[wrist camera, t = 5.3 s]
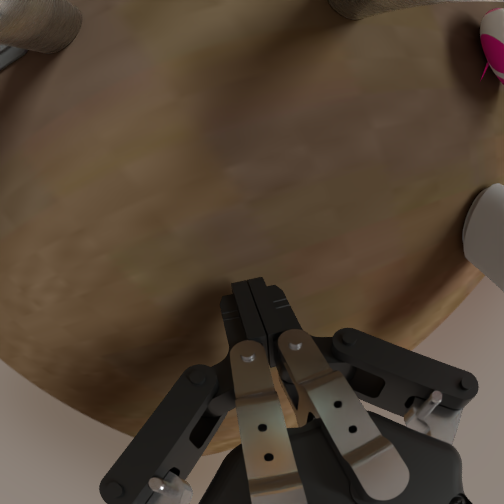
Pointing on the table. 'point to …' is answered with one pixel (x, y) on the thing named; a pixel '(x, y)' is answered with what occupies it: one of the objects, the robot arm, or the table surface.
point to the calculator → (10, 55)
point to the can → (486, 233)
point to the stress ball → (493, 41)
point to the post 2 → (381, 6)
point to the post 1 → (39, 24)
